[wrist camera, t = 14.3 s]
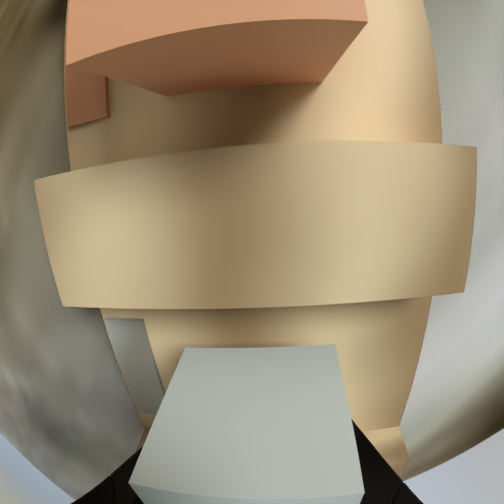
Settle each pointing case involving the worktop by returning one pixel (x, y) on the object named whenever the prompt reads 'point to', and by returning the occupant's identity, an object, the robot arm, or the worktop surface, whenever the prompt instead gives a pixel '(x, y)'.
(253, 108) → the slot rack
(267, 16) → the terracotta block
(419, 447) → the worktop surface
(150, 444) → the blue-grey block
